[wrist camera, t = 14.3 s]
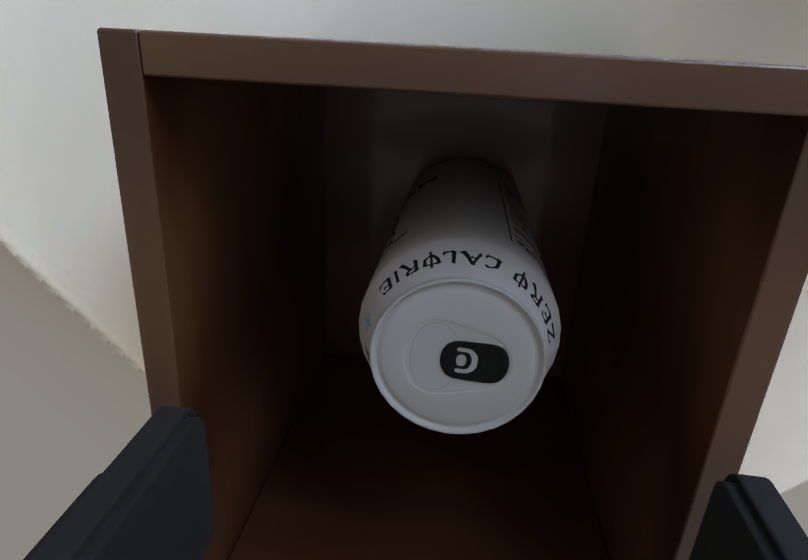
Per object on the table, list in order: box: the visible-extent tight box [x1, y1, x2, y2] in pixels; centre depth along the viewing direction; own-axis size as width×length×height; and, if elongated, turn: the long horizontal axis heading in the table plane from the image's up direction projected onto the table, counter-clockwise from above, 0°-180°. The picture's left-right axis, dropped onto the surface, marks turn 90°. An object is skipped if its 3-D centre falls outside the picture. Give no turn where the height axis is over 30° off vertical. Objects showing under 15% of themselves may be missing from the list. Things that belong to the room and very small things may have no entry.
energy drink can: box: [359, 159, 561, 434], centre depth 22 cm, size 6×6×15 cm
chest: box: [97, 28, 808, 560], centre depth 23 cm, size 18×15×17 cm
